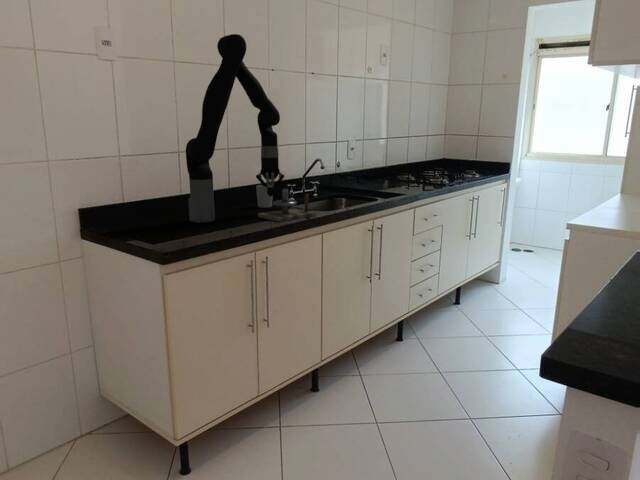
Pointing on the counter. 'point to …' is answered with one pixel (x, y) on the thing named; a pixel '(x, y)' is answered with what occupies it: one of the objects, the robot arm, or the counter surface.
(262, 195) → the white cup
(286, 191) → the flange
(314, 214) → the flange base
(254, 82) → the robot arm
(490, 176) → the counter surface
